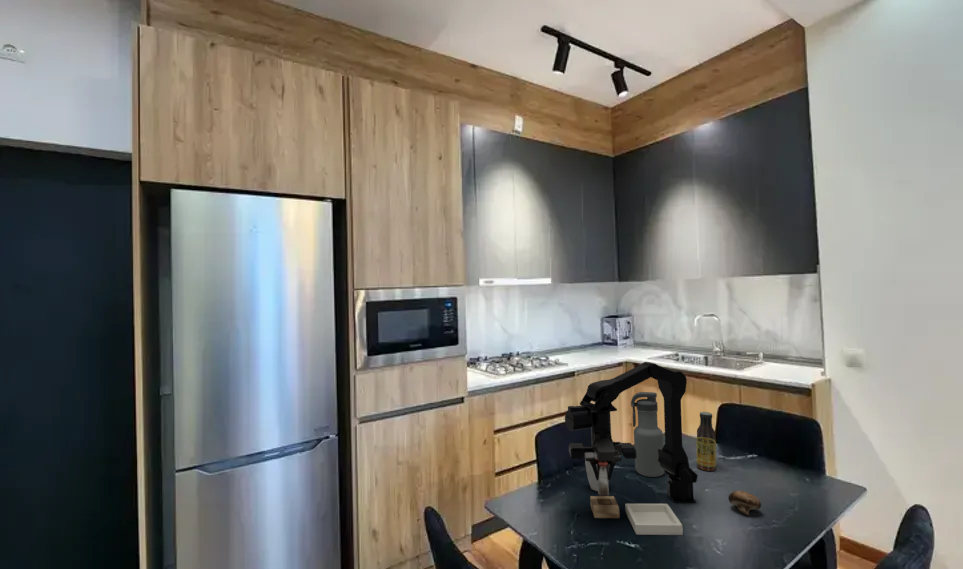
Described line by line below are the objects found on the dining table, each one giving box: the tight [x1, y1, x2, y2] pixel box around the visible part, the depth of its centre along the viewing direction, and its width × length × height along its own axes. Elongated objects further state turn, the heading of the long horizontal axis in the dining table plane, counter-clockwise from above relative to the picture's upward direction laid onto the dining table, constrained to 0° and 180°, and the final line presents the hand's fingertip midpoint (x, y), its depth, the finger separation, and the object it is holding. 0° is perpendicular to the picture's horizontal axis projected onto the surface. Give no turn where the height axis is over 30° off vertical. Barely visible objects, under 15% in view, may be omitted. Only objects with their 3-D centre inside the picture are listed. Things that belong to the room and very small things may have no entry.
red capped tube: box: [596, 458, 610, 496], centre depth 130 cm, size 4×4×10 cm
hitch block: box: [589, 495, 620, 519], centre depth 130 cm, size 7×7×3 cm
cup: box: [584, 454, 610, 492], centre depth 146 cm, size 8×8×10 cm
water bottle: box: [630, 391, 665, 478], centre depth 157 cm, size 10×10×28 cm
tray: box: [624, 503, 684, 536], centre depth 123 cm, size 12×12×2 cm
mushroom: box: [728, 490, 762, 516], centre depth 127 cm, size 8×8×6 cm
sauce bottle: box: [696, 411, 717, 472], centre depth 158 cm, size 7×6×20 cm
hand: (603, 479), depth 130 cm, fingers closed on red capped tube, 3 cm apart
